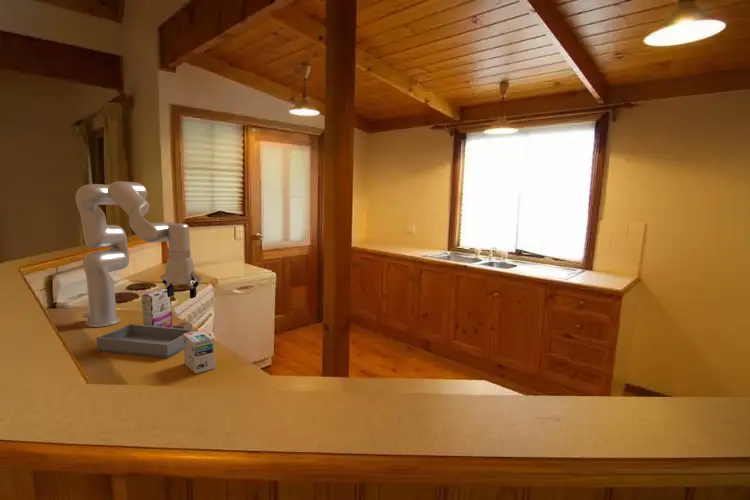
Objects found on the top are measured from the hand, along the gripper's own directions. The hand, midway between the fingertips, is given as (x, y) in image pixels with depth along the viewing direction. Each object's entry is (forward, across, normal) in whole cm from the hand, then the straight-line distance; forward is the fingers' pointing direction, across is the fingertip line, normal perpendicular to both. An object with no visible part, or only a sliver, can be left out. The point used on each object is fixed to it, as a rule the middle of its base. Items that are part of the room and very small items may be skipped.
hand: (182, 297), depth 156 cm
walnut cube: (+16, -1, 0) cm, 16 cm away
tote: (+16, -6, -13) cm, 21 cm away
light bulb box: (+17, +22, -24) cm, 37 cm away
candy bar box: (+16, -15, +4) cm, 22 cm away
